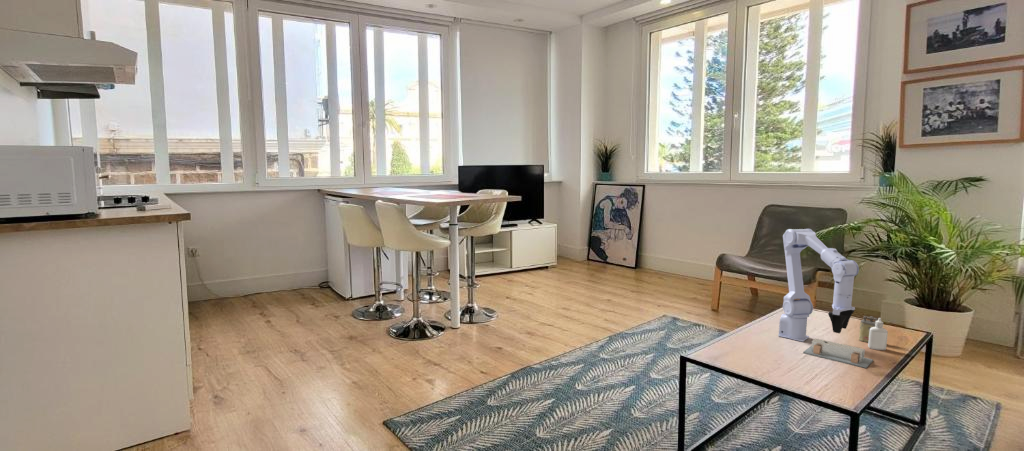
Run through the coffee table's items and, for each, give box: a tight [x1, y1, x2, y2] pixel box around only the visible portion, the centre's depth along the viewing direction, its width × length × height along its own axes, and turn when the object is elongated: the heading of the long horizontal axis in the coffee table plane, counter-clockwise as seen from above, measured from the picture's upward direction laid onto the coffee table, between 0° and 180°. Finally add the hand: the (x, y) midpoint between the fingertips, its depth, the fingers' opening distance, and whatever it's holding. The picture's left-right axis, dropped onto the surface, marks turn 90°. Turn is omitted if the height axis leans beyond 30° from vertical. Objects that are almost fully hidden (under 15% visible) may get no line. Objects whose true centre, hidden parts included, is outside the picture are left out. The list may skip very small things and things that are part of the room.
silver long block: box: [811, 338, 866, 363], centre depth 194 cm, size 16×4×4 cm, turn 45°
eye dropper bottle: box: [867, 317, 889, 351], centre depth 202 cm, size 4×6×12 cm
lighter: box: [858, 315, 879, 343], centre depth 210 cm, size 7×4×10 cm, turn 48°
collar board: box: [802, 345, 874, 369], centre depth 194 cm, size 20×10×4 cm, turn 45°
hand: (839, 330), depth 192 cm, fingers open, 7 cm apart
